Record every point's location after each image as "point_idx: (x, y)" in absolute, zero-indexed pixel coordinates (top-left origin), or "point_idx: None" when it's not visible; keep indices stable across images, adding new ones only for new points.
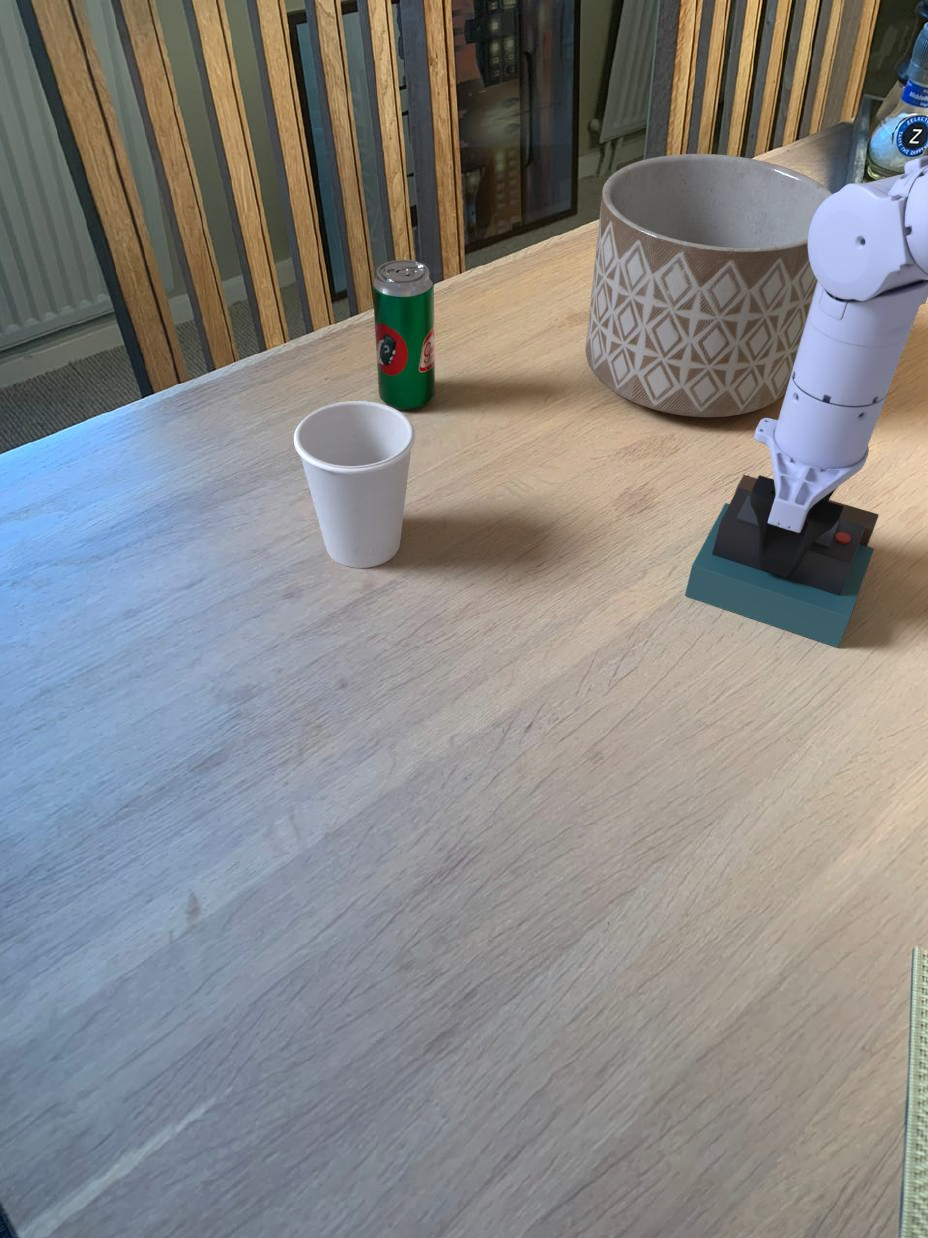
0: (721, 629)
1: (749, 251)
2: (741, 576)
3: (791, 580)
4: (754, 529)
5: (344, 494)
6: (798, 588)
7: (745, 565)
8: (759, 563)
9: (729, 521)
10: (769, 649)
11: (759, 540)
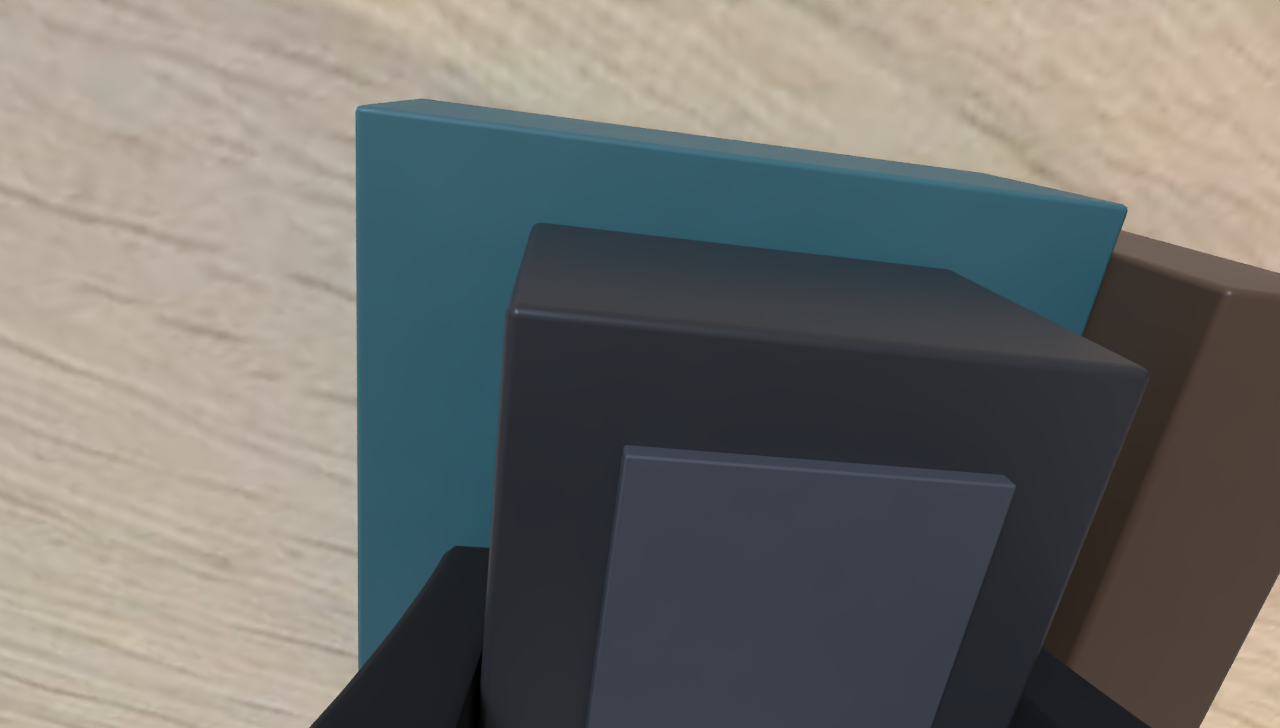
0: (273, 324)
1: None
2: (406, 436)
3: None
4: (534, 613)
5: None
6: None
7: None
8: (439, 566)
9: (562, 394)
10: (262, 529)
11: (328, 709)
